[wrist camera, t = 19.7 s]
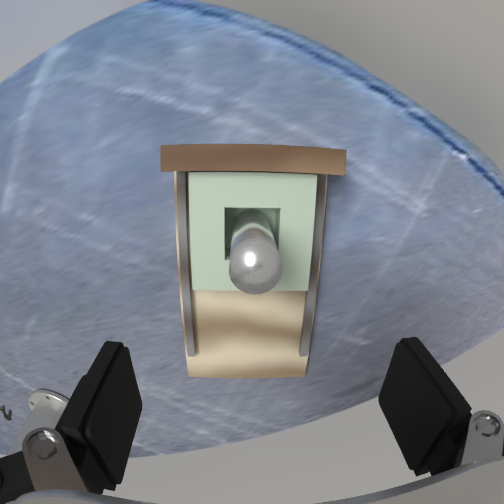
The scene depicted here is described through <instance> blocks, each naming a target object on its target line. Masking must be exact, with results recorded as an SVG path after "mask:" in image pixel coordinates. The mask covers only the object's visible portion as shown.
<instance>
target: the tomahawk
mask: <svg viewBox="0 0 504 504" xmlns="http://www.w3.org/2000/svg"><path fill="white" fill-rule="evenodd" d="M0 410H1V411H2V412H3V414H4V417H5V419H7V420H8V421H9V420H11V418H10V417H11V414H12V411H11V410H10V409H9V414H8V415H6V413H5V406H4V405H3V407H1V406H0Z"/></svg>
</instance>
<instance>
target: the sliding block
mask: <svg viewBox="0 0 504 504" xmlns="http://www.w3.org/2000/svg"><path fill="white" fill-rule="evenodd" d="M316 188H317V174H314V173H296V172H271V171H190V172H189V222H190V250H191V271H192V289H193V290H217V291H241V290H239V289H238V288H237V287H236V286H235V285H234V284H233V283H232V281H231V279H230V276H229V261H230V251H231V242H232V232H233V223H234V219H235V217H236V216H237V215H238V213H240V212H241V211H243V210H245V209H249V208H254V209H258V210H260V211H262V212H263V213H264V214H265V215H266V216H267V218H268V221H269V224H270V227H271V230H272V234H273V237H274V240H275V243H276V247H277V250H278V253H279V256H280V260H281V263H282V276H281V279H280V281H279V282H278V284H277V285H276V286H275V287H274V288H273V289H271V290H270V291H308V285H309V275H310V265H311V254H312V243H313V230H314V218H315V204H316Z"/></svg>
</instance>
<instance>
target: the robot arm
mask: <svg viewBox="0 0 504 504" xmlns="http://www.w3.org/2000/svg"><path fill="white" fill-rule="evenodd" d="M379 405H380V407H381V409H382V411H383V413H384V415H385V417H386V419H387V421H388V423H389V426H390V428H391V430H392V432H393V434H394V436H395V439H396V441H397V443H398V445H399V447H400V449H401V451H402V454H403V456H404V458H405V460H406V462H407V465H408V467H409V469H410V470H414V473H415V475H416V476H419V475H422V474H425V473H428V472H429V471H430V473H431V477H428V478H425V479H421V480H418V481H415V482H412V483H409V484H405V485H402V486H398V487H395V488H391V489H388V490H384V491H379V492H375V493H371V494H366V495H362V496H357V497H352V498H347V499H342V500H336V501H330V502H323V503H316V504H504V424H503V422H502V420H501V418H500V417H499V416H498V415H496V414H495V413H493V412H491V411H487V410H481V411H477V412H475V413H474V414H473V415H472V414H471V413H470V411H471V409H472V408H471V407H470V405H469V404H468V402H467V401H466V400H465V398H464V397H463V396H462V394H461V393H460V392H459V390H458V389H457V388H456V386H455V385H454V383H453V382H452V381H451V380H450V378H449V377H448V376H447V374H446V373H445V372H444V370H443V369H442V368H441V366H440V365H439V364H438V363H437V361H436V360H435V359H434V358H433V356H432V355H431V354H430V352H429V351H428V350H427V349H426V347H425V346H424V345H423V344H422V342H421V341H420V340H419V339H418V338H417V337H410V338H403V339H401V340H400V342H399V343H397V344H396V346H395V350H394V353H393V356H392V359H391V362H390V365H389V368H388V371H387V374H386V377H385V380H384V383H383V386H382V389H381V391H380V394H379ZM29 406H30V409H31V411H32V412H31V414H30V415H29V417H28V419H27V420H26V422H25V424H24V426H23V427H22V429H21V431H20V433H19V434H18V436H17V438H16V440H15V442H14V443H13V445H12V447H11V449H10V451H9V453H8V454H7V456H5V457H3V458H0V504H155V503H148V502H141V501H134V500H128V499H123V498H117V497H112V496H106V495H101V494H102V493H103V490H104V489H107V490H112V491H115V488H116V484H121V482H122V480H123V476H124V472H125V468H126V464H127V461H128V457H129V453H130V450H131V446H132V442H133V439H134V435H135V432H136V428H137V425H138V421H139V418H140V415H141V411H142V400H141V396H140V393H139V389H138V385H137V382H136V378H135V374H134V370H133V366H132V361H131V357H130V353H129V349H128V347H124V345H123V343H122V342H113V341H106V342H105V343H104V345H103V346H102V348H101V350H100V352H99V353H98V355H97V357H96V359H95V360H94V362H93V364H92V366H91V367H90V369H89V371H88V373H87V375H84V376H83V377H82V378H81V380H80V381H79V383H78V385H77V387H76V389H75V390H74V392H73V394H72V396H71V398H70V400H68V399H67V398H65V397H63V396H61V395H59V394H57V393H54V392H51V391H48V390H36V391H34V392H33V393H32V394H31V396H30V398H29Z"/></svg>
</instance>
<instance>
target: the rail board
mask: <svg viewBox="0 0 504 504" xmlns="http://www.w3.org/2000/svg"><path fill="white" fill-rule="evenodd" d="M345 167H346V150H342V149H331V148H319V147H304V146H287V145H262V144H184V145H161V172H167V171H174V189H175V220H176V242H177V259H178V274H179V288H180V300H181V312H182V322H183V332H184V342H185V351H186V359H187V367H188V375H189V377H212V378H278V377H302V376H305V373H306V367H307V360H308V354H309V347H310V341H311V334H312V327H313V319H314V312H315V304H316V296H317V288H318V279H319V270H320V261H321V251H322V241H323V230H324V218H325V205H326V192H327V176H328V174H332V175H345ZM190 171H271V172H296V173H314V174H317V188H316V204H315V218H314V230H313V243H312V254H311V265H310V275H309V285H308V291H268V292H266V293H263V294H248V293H245V292H242V291H217V290H193V289H192V271H191V250H190V222H189V172H190Z"/></svg>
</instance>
